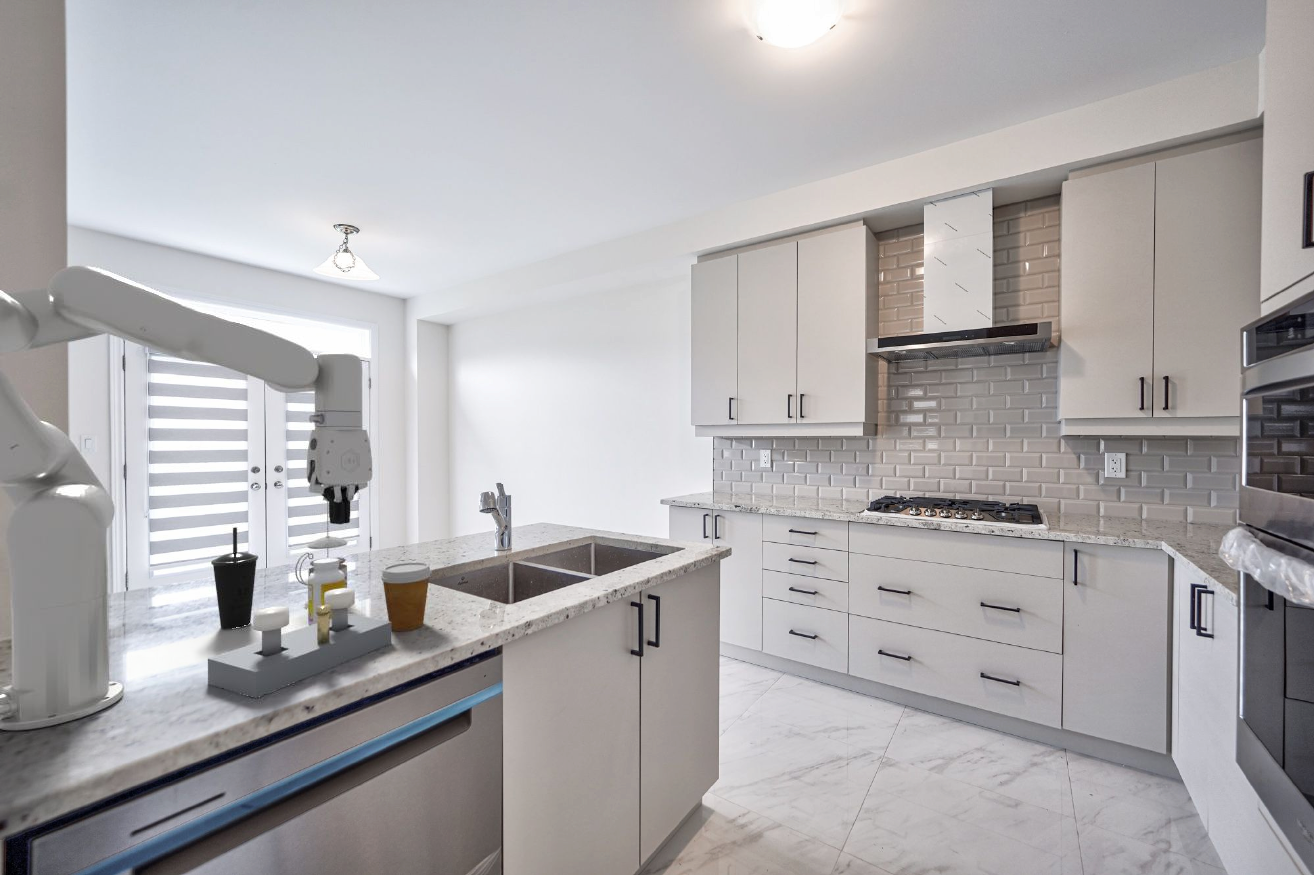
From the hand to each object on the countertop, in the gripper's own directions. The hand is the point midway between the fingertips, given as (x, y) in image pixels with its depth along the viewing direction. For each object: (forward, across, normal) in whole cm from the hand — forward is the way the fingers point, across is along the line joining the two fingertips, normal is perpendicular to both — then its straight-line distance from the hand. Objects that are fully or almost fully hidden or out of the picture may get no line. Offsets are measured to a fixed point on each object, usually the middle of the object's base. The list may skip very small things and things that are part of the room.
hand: (339, 522), depth 102 cm
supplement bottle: (+23, +9, +16) cm, 30 cm away
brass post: (+19, -6, -4) cm, 20 cm away
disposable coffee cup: (+23, +14, -1) cm, 27 cm away
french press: (+23, +17, +28) cm, 40 cm away
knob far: (+19, 0, 0) cm, 19 cm away
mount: (+23, -6, 0) cm, 24 cm away
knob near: (+19, -12, 0) cm, 23 cm away
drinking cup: (+23, 0, +31) cm, 39 cm away
